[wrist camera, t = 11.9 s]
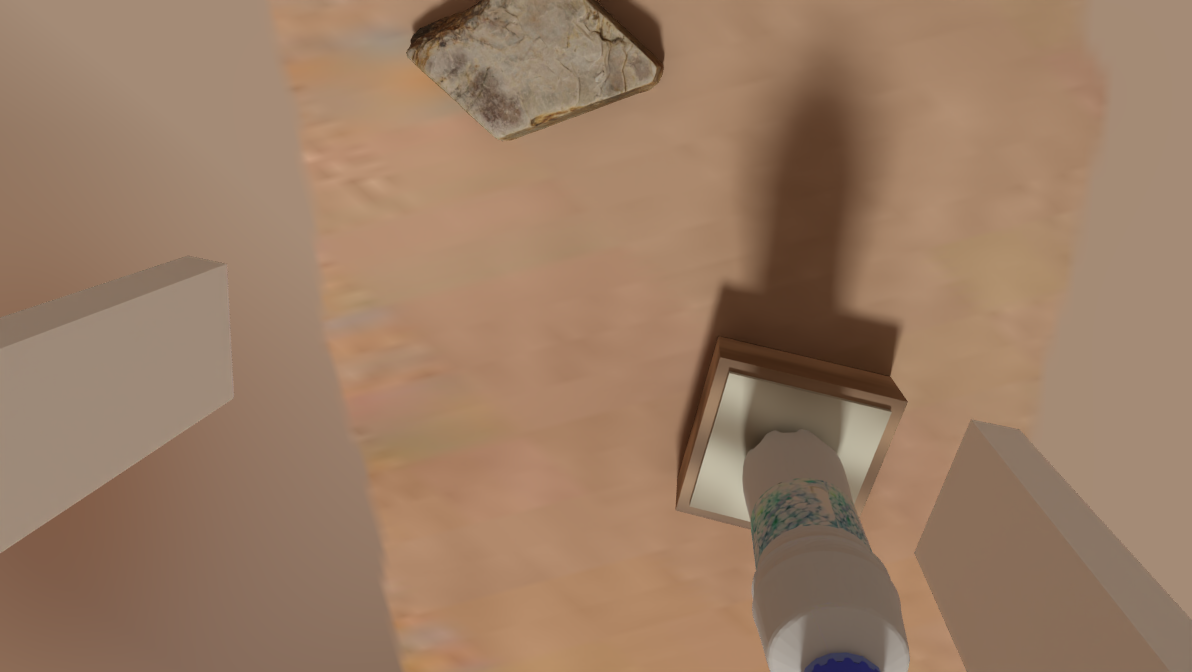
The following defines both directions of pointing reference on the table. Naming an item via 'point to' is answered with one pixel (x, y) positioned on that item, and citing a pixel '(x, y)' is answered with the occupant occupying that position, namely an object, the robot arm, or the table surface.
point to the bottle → (816, 565)
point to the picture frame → (781, 422)
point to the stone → (533, 62)
